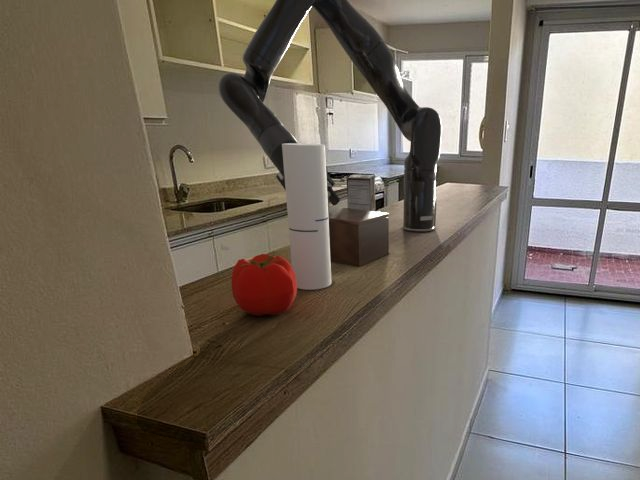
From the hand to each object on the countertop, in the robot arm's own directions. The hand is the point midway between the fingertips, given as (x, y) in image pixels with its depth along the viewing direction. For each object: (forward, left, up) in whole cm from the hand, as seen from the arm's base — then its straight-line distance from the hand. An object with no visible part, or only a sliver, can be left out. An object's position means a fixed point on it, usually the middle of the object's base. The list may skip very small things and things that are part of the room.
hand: (325, 205), depth 103 cm
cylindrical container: (+18, +15, -11) cm, 26 cm away
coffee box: (-17, -5, -11) cm, 21 cm away
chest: (-1, +5, -11) cm, 12 cm away
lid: (-1, +5, -2) cm, 5 cm away
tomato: (+32, +20, -11) cm, 40 cm away
